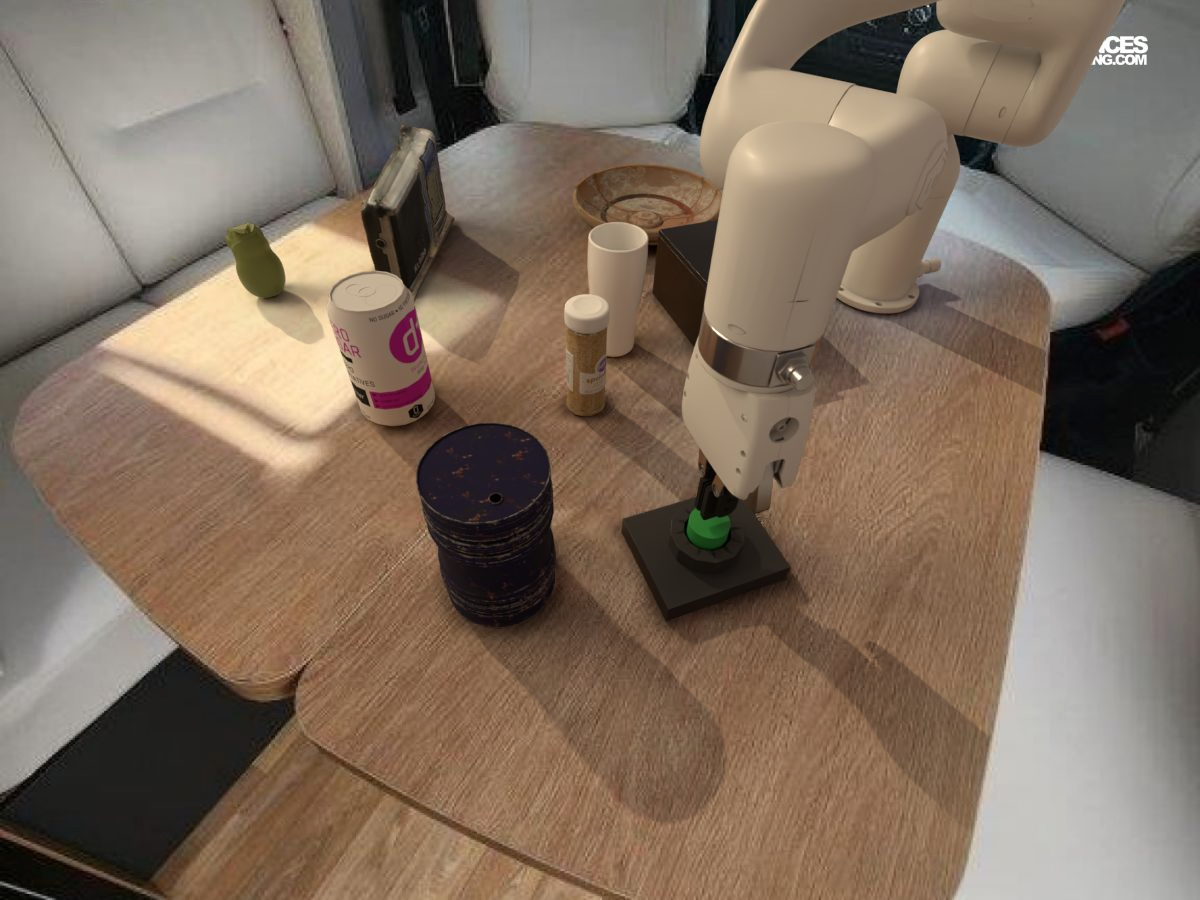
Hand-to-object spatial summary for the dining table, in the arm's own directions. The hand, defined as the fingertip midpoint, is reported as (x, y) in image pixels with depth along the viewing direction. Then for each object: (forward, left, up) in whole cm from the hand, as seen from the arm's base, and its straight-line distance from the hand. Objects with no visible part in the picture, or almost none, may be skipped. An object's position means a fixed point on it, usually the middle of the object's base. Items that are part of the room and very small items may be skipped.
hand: (714, 508), depth 54 cm
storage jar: (+18, -4, -7) cm, 20 cm away
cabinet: (-20, -34, -7) cm, 40 cm away
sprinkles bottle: (+3, -23, -7) cm, 24 cm away
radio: (+15, -61, -7) cm, 63 cm away
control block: (0, 0, -7) cm, 7 cm away
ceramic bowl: (-21, -60, -7) cm, 64 cm away
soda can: (+23, -30, -7) cm, 38 cm away
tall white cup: (-4, -32, -7) cm, 33 cm away
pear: (+36, -58, -7) cm, 69 cm away
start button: (0, 0, -3) cm, 3 cm away
